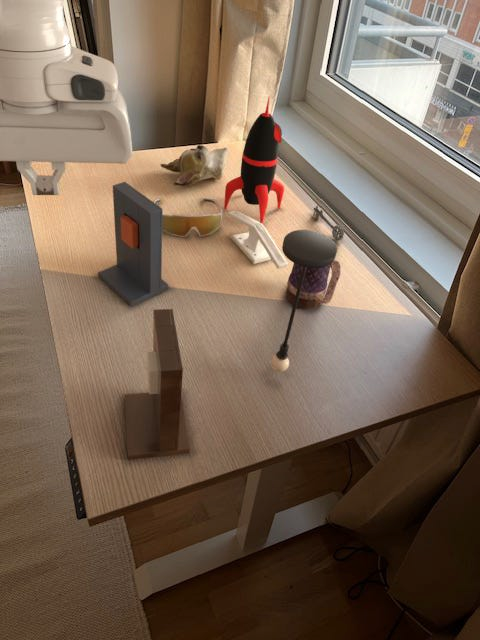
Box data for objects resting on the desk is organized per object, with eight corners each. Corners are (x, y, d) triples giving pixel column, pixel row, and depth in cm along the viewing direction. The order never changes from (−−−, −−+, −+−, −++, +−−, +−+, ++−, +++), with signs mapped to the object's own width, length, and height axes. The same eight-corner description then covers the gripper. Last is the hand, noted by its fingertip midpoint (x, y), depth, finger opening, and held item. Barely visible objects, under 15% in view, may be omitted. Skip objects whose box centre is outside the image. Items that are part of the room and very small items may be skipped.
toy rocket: (261, 226, 111) (280, 110, 94) (221, 209, 114) (233, 93, 98) (282, 208, 118) (304, 96, 101) (244, 192, 121) (259, 81, 104)
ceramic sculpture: (237, 151, 116) (173, 161, 111) (235, 186, 122) (174, 196, 117) (218, 131, 123) (158, 140, 118) (217, 165, 129) (160, 174, 124)
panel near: (128, 460, 67) (123, 373, 55) (124, 398, 74) (119, 311, 62) (189, 453, 69) (197, 368, 57) (180, 394, 76) (185, 308, 64)
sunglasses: (158, 240, 103) (158, 216, 100) (149, 209, 115) (149, 188, 112) (227, 237, 106) (229, 215, 104) (212, 208, 118) (213, 187, 115)
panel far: (131, 306, 88) (128, 221, 77) (98, 276, 93) (90, 192, 81) (168, 288, 93) (170, 205, 81) (135, 261, 97) (132, 178, 86)
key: (342, 244, 110) (346, 231, 108) (338, 245, 110) (342, 231, 107) (314, 214, 118) (317, 201, 115) (310, 215, 117) (314, 202, 115)
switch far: (132, 248, 86) (131, 226, 83) (121, 239, 87) (120, 217, 84) (138, 246, 86) (138, 223, 83) (127, 237, 88) (126, 214, 85)
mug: (278, 288, 96) (289, 234, 88) (310, 282, 99) (325, 229, 91) (304, 325, 90) (319, 270, 82) (338, 317, 92) (356, 263, 84)
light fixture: (247, 381, 79) (273, 246, 62) (268, 355, 84) (297, 223, 67) (286, 401, 77) (324, 268, 60) (304, 374, 82) (345, 243, 65)
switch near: (149, 394, 64) (149, 371, 61) (147, 375, 66) (147, 351, 63) (158, 393, 64) (159, 370, 61) (156, 374, 67) (157, 350, 64)
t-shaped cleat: (268, 280, 98) (272, 256, 94) (219, 224, 110) (221, 202, 106) (285, 275, 100) (291, 252, 96) (235, 221, 112) (238, 199, 108)
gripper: (-98, 74, 47) (-57, 206, 57) (131, 86, 52) (134, 207, 61) (-80, 52, 52) (-45, 178, 61) (129, 64, 56) (132, 180, 65)
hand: (46, 192), depth 61 cm, fingers closed
